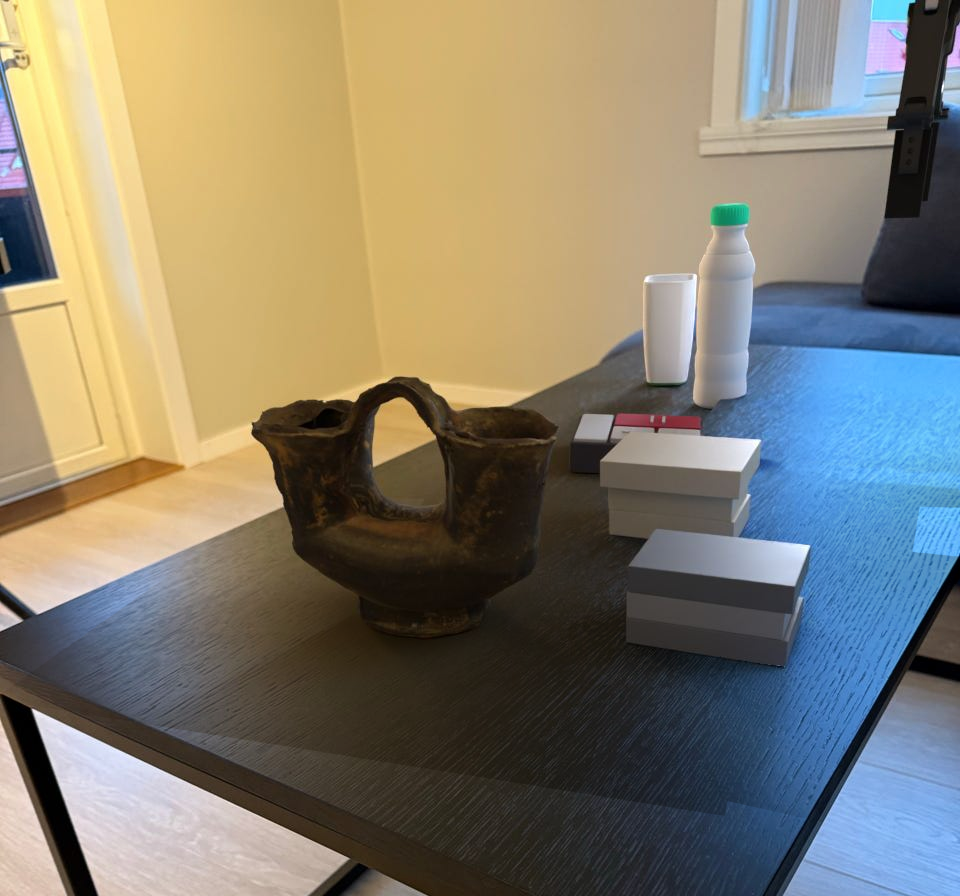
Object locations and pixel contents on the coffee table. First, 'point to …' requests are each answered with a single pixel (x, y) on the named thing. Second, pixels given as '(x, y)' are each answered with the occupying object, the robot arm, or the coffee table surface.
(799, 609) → the grey books
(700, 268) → the water bottle
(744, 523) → the white books
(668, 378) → the cup
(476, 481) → the pottery vessel
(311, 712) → the coffee table surface
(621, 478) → the flat white block
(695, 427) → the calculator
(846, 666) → the coffee table surface
